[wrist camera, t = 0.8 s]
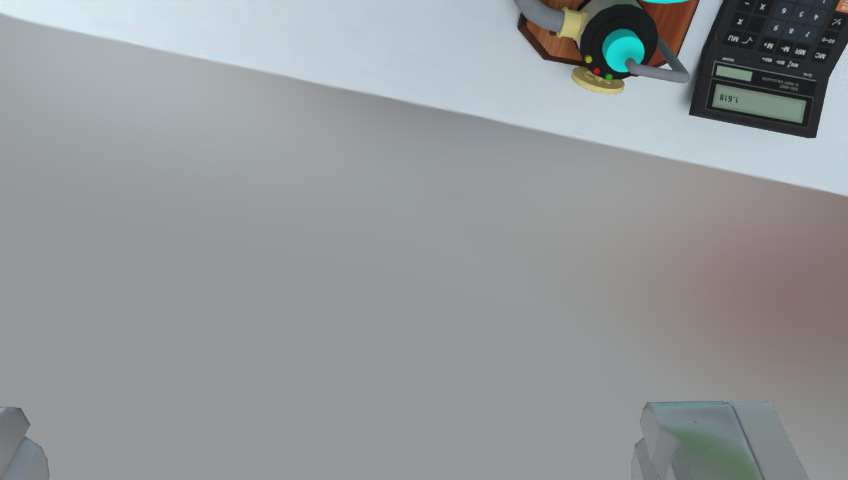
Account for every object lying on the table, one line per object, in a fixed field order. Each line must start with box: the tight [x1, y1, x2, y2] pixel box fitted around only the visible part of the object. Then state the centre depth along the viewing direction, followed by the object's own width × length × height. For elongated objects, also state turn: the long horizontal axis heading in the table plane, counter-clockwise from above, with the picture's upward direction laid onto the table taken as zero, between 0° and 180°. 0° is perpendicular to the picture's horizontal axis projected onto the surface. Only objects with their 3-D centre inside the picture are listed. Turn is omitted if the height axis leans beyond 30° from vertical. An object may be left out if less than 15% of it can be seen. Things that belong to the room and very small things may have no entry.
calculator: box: [689, 0, 848, 138], centre depth 52 cm, size 9×12×3 cm
